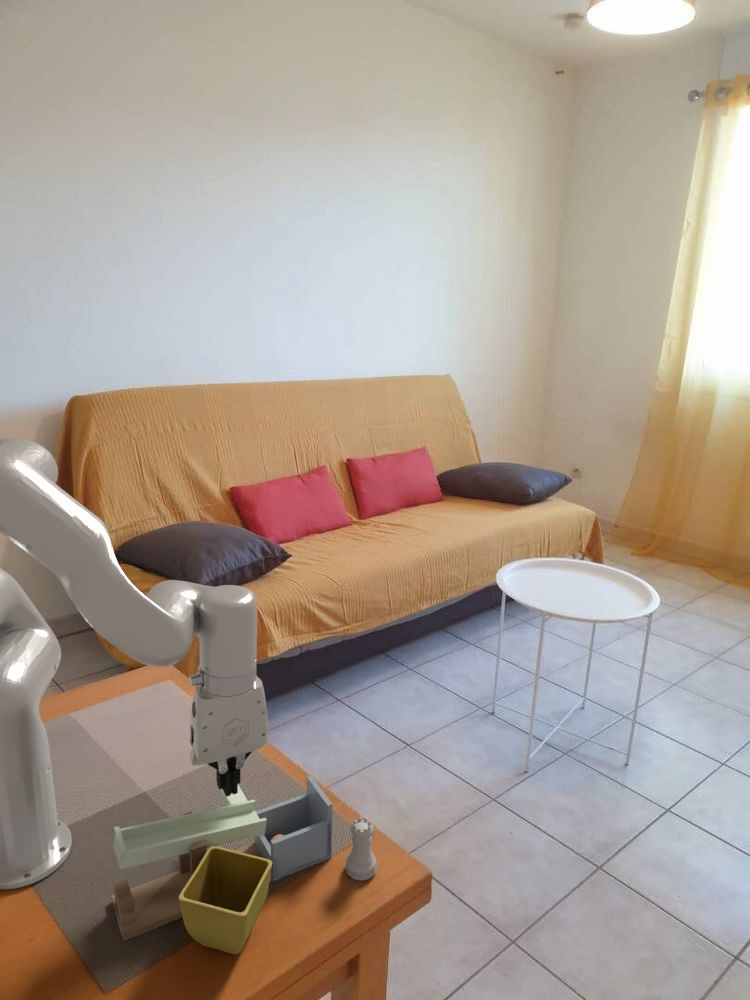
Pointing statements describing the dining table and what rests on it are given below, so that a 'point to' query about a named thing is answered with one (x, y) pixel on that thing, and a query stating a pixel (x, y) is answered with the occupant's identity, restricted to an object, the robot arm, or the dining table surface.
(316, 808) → the blue-grey box
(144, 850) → the lever
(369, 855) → the rook chess piece
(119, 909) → the catapult base
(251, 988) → the dining table surface
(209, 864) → the flower pot
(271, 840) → the ball
